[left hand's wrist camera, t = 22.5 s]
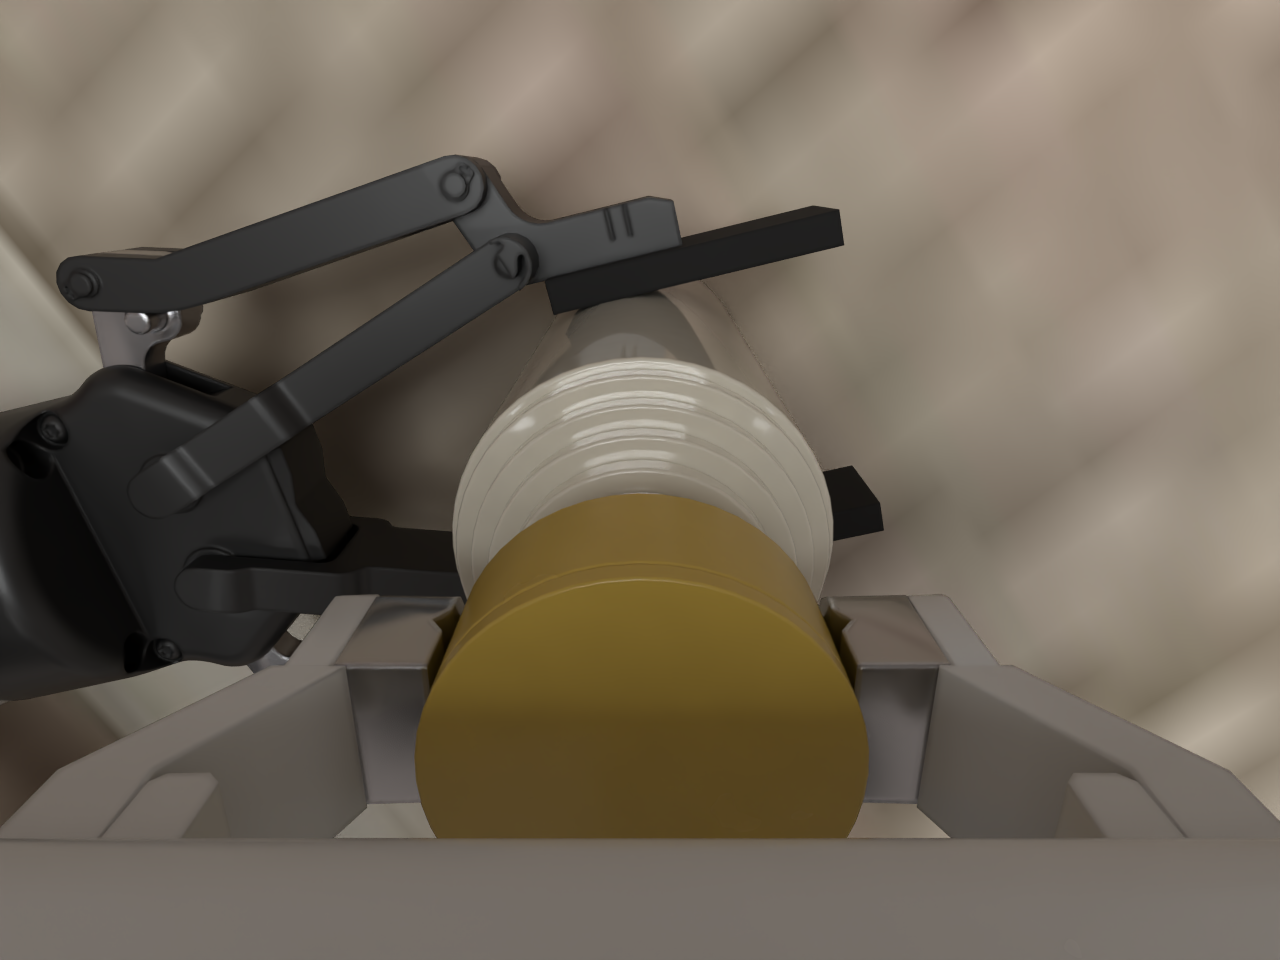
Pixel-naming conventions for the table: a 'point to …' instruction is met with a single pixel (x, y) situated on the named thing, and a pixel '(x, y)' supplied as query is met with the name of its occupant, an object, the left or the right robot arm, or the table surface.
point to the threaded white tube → (644, 431)
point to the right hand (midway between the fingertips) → (846, 368)
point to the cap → (641, 687)
